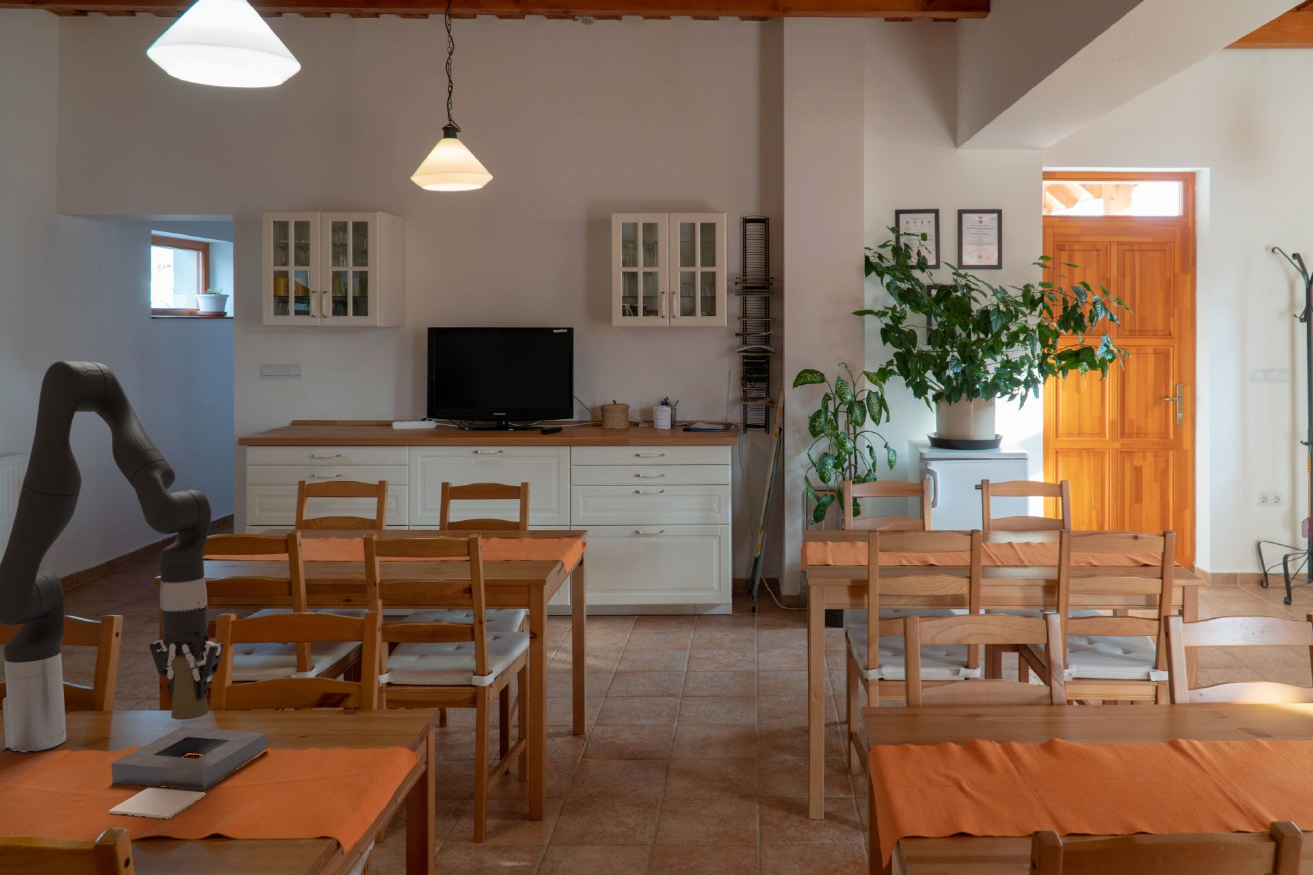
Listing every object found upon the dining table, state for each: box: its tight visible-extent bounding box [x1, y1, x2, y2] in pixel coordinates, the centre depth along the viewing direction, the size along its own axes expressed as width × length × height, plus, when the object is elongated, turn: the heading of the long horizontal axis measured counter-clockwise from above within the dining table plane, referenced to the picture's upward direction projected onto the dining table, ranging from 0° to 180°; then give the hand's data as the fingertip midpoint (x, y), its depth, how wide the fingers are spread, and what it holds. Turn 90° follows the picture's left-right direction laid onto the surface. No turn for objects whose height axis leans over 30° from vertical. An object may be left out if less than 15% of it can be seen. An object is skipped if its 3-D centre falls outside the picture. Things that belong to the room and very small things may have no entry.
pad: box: [108, 787, 206, 820], centre depth 168 cm, size 11×9×1 cm
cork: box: [170, 655, 209, 721], centre depth 183 cm, size 6×6×11 cm
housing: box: [111, 726, 268, 791], centre depth 184 cm, size 18×18×4 cm
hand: (189, 698), depth 183 cm, fingers closed on cork, 4 cm apart
